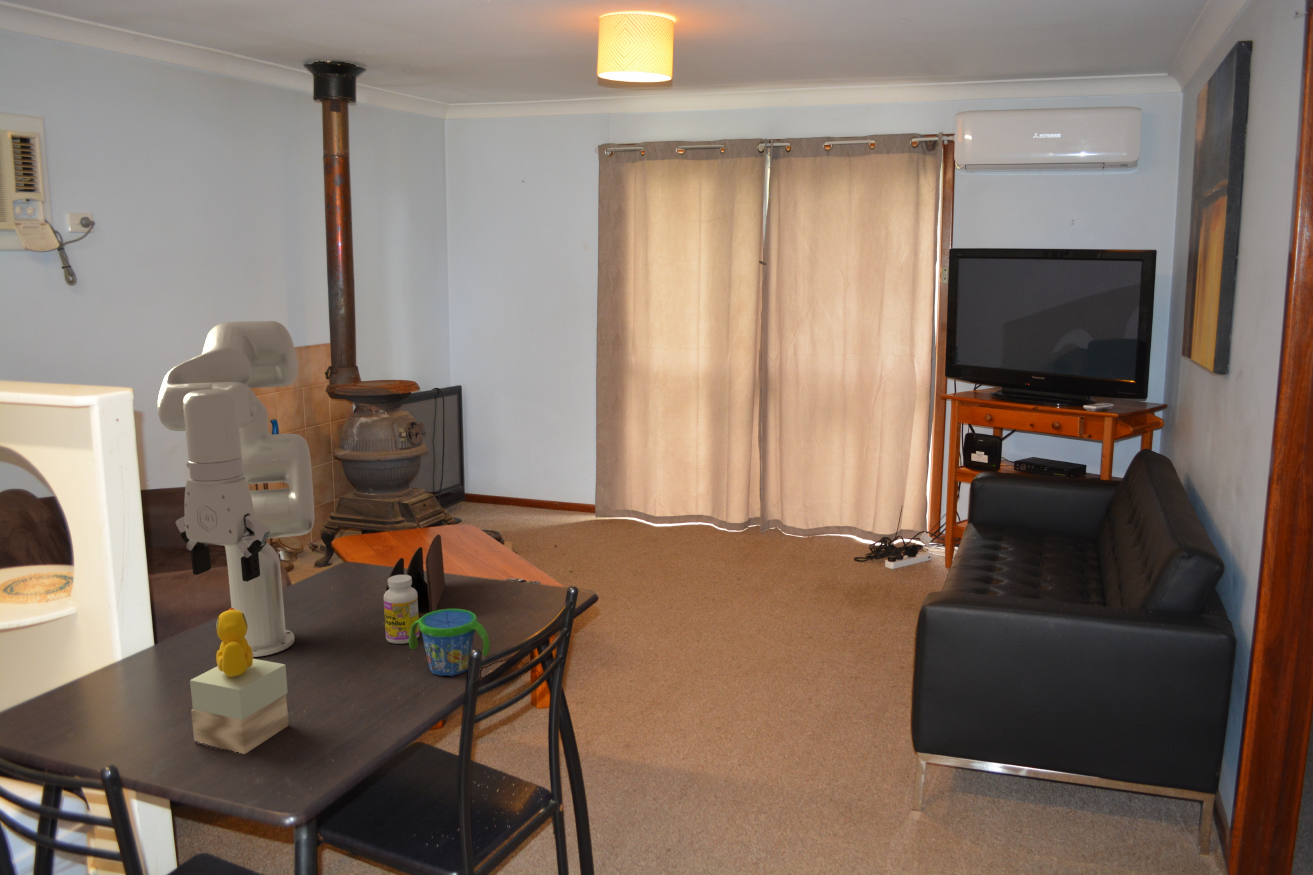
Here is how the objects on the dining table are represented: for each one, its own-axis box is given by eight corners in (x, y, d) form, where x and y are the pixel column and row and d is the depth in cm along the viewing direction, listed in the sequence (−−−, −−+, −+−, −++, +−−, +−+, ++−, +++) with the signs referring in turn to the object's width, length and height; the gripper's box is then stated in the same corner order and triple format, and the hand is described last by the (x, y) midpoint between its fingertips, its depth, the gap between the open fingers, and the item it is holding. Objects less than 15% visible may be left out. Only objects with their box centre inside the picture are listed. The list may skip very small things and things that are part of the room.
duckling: (218, 660, 160) (212, 603, 158) (253, 655, 162) (248, 598, 160) (216, 688, 150) (210, 627, 148) (254, 682, 152) (248, 621, 150)
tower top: (192, 709, 154) (189, 680, 153) (240, 683, 163) (237, 655, 162) (242, 719, 150) (239, 689, 150) (287, 692, 160) (285, 664, 159)
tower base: (194, 744, 155) (191, 709, 154) (240, 716, 164) (237, 683, 163) (244, 755, 152) (241, 719, 150) (288, 726, 161) (285, 692, 160)
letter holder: (445, 587, 228) (442, 529, 225) (433, 618, 208) (429, 555, 206) (402, 588, 227) (398, 530, 224) (385, 620, 207) (381, 556, 205)
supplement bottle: (378, 642, 195) (375, 581, 193) (399, 630, 201) (395, 571, 199) (406, 647, 193) (403, 585, 190) (426, 635, 199) (423, 575, 196)
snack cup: (500, 664, 184) (499, 613, 182) (471, 687, 174) (468, 633, 173) (431, 652, 190) (428, 603, 188) (398, 674, 180) (395, 622, 178)
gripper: (153, 471, 149) (164, 577, 152) (244, 479, 143) (254, 589, 147) (191, 460, 156) (201, 562, 159) (279, 468, 150) (287, 573, 154)
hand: (226, 575), depth 153 cm, fingers open, 9 cm apart
